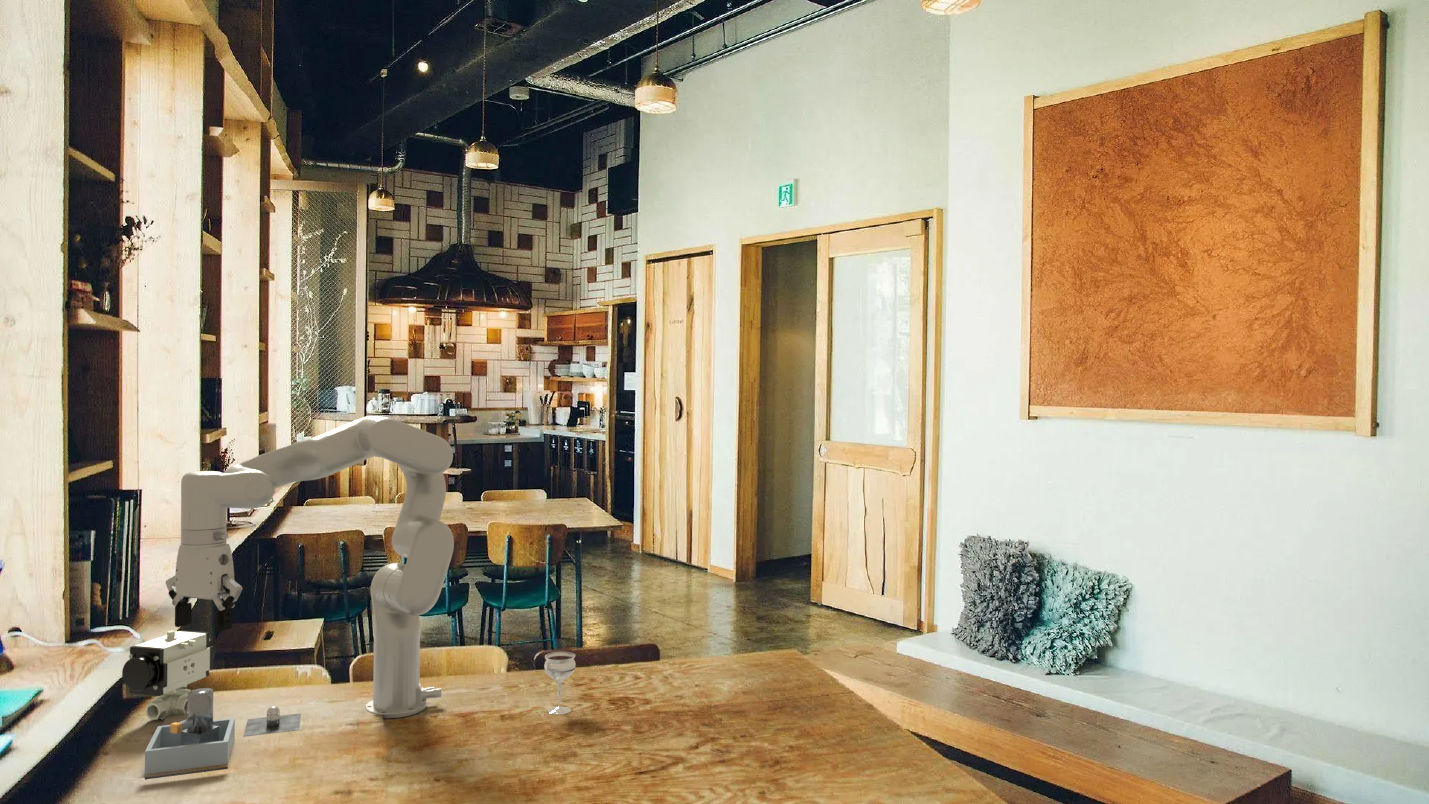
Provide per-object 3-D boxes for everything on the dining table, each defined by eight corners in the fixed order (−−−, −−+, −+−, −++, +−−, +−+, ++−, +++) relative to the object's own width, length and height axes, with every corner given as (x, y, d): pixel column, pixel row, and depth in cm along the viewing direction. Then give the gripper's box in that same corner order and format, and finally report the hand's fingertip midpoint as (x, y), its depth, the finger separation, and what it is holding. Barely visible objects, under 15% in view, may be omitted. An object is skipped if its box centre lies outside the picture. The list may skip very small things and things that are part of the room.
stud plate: (300, 718, 193) (301, 696, 193) (299, 734, 183) (299, 711, 183) (247, 724, 189) (248, 701, 189) (243, 741, 180) (243, 717, 180)
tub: (234, 743, 179) (234, 717, 179) (227, 769, 167) (227, 741, 167) (157, 752, 174) (157, 726, 174) (144, 779, 162) (144, 751, 162)
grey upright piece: (200, 746, 175) (201, 686, 174) (218, 749, 173) (219, 689, 173) (164, 762, 167) (164, 700, 167) (182, 766, 166) (183, 703, 165)
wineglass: (537, 713, 198) (538, 658, 198) (554, 703, 204) (555, 650, 204) (564, 717, 195) (565, 662, 195) (580, 707, 202) (581, 653, 202)
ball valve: (156, 732, 184) (156, 644, 183) (120, 728, 185) (121, 641, 185) (221, 703, 201) (222, 622, 201) (187, 699, 203) (188, 620, 203)
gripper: (256, 537, 173) (255, 627, 173) (185, 531, 178) (184, 619, 178) (223, 543, 166) (223, 637, 166) (151, 537, 171) (150, 628, 171)
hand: (203, 627), depth 172 cm, fingers open, 9 cm apart
